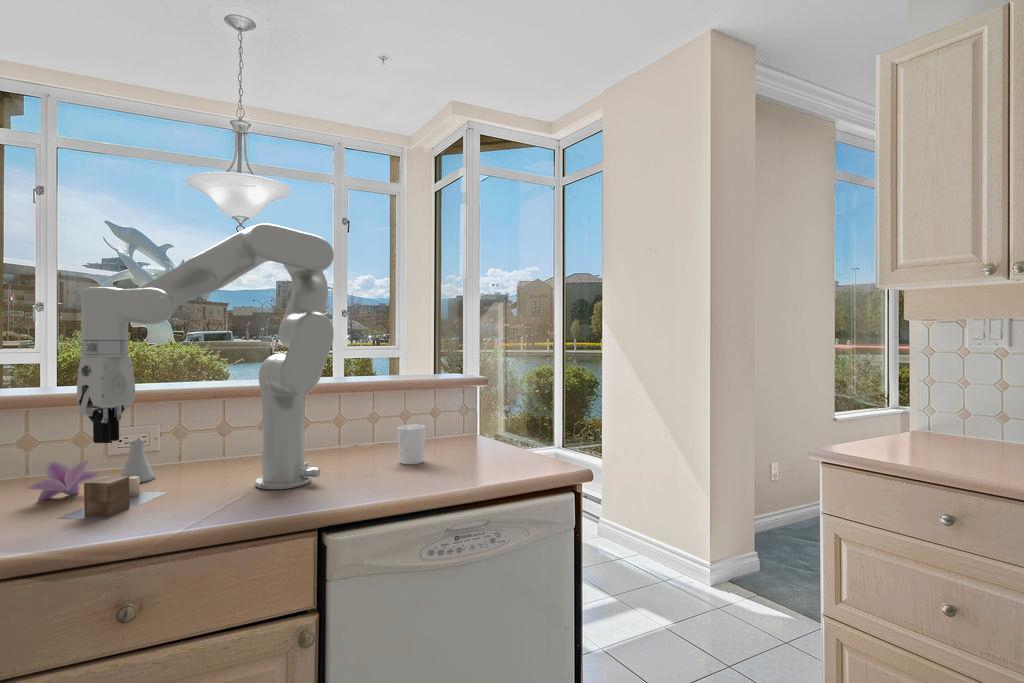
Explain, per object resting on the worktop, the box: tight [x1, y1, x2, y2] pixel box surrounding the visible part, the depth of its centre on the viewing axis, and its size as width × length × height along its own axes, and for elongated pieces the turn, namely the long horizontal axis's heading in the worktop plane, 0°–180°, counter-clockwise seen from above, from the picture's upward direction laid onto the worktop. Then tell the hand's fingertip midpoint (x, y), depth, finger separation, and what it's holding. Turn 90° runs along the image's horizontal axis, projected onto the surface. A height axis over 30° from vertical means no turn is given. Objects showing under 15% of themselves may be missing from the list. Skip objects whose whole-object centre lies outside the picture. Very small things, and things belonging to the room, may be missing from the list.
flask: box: [120, 438, 156, 484], centre depth 139 cm, size 7×7×10 cm
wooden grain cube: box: [83, 475, 129, 518], centre depth 112 cm, size 5×5×7 cm
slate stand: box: [56, 476, 169, 521], centre depth 118 cm, size 10×18×5 cm, turn 177°
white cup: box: [397, 424, 426, 465], centre depth 160 cm, size 8×8×10 cm
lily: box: [26, 460, 103, 503], centre depth 121 cm, size 12×12×10 cm
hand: (106, 441), depth 112 cm, fingers closed
